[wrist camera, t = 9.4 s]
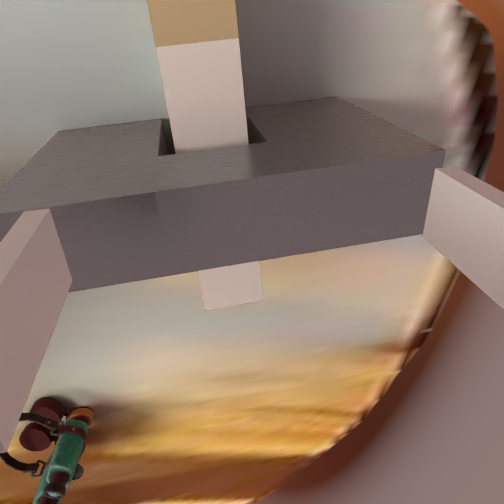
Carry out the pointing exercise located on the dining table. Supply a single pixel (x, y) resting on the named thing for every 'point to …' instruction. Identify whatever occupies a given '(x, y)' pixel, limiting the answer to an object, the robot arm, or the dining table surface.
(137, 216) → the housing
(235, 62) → the grey rectangular block
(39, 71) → the dining table surface
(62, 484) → the binoculars
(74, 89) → the dining table surface
